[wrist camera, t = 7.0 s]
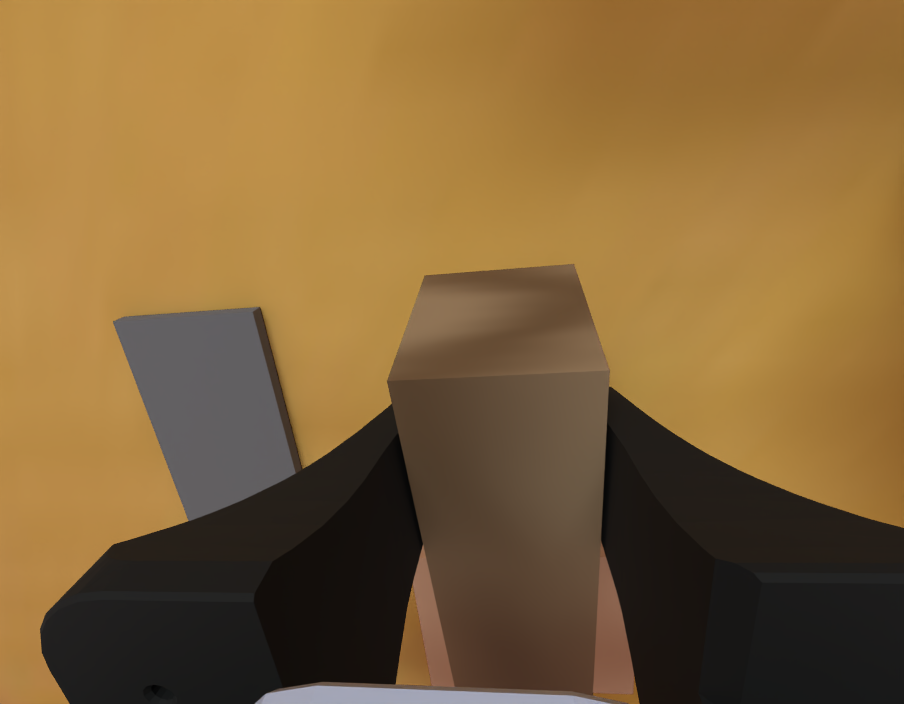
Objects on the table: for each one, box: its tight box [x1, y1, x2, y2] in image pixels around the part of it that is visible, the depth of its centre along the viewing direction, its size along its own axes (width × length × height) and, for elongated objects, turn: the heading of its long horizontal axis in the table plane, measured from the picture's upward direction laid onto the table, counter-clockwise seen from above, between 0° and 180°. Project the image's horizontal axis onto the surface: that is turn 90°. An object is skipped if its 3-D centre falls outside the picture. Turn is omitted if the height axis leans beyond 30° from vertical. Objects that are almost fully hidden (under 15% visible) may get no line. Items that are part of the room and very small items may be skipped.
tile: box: [413, 543, 634, 694], centre depth 19 cm, size 8×2×7 cm
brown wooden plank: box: [387, 264, 610, 696], centre depth 13 cm, size 4×12×4 cm, turn 6°
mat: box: [113, 307, 302, 521], centre depth 19 cm, size 5×13×1 cm, turn 6°
